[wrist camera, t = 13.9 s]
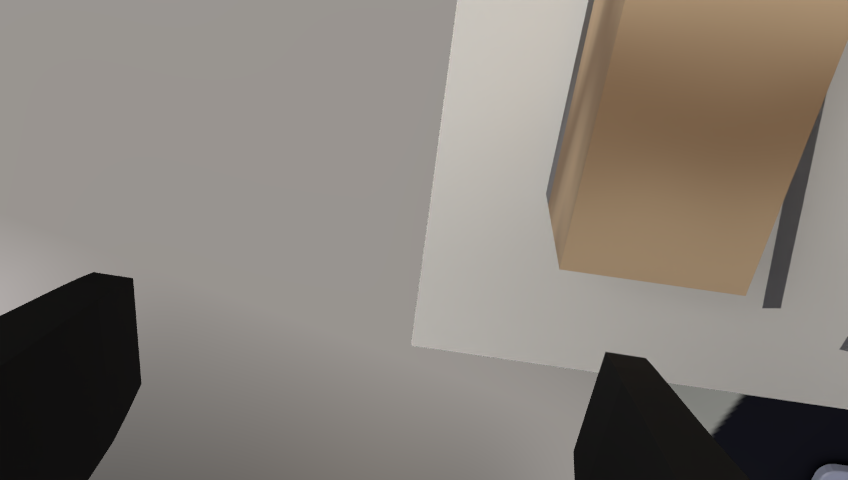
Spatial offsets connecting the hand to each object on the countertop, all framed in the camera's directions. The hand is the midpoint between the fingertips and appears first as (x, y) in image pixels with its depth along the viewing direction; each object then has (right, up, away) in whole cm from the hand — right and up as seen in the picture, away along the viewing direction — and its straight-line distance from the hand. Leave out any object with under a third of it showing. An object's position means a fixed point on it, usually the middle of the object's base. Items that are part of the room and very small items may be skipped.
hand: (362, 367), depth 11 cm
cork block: (+7, +6, +6) cm, 11 cm away
